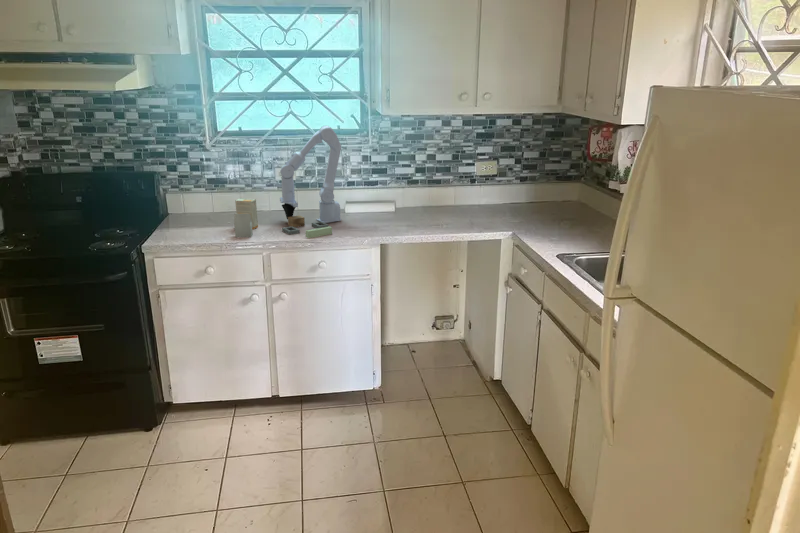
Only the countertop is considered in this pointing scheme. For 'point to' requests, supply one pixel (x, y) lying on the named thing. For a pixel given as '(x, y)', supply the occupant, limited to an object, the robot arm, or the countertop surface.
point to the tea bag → (243, 225)
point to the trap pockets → (320, 231)
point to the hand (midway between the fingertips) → (289, 219)
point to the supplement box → (247, 209)
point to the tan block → (296, 221)
